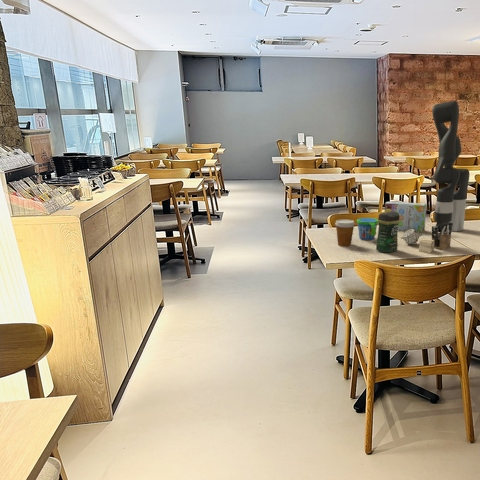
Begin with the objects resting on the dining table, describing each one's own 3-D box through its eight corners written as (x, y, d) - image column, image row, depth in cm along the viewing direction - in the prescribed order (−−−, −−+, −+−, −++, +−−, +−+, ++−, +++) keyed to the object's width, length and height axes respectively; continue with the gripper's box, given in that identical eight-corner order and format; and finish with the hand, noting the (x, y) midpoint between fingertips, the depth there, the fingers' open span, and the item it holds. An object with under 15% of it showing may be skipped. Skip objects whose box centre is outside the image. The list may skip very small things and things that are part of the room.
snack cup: (352, 235, 233) (353, 216, 231) (371, 234, 234) (372, 216, 231) (361, 243, 218) (362, 223, 216) (382, 242, 218) (383, 222, 216)
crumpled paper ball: (413, 252, 213) (423, 239, 205) (397, 246, 213) (406, 233, 206) (415, 239, 218) (425, 226, 211) (399, 233, 219) (408, 220, 211)
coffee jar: (387, 254, 199) (389, 214, 194) (373, 250, 205) (375, 212, 200) (400, 250, 204) (403, 211, 199) (386, 246, 210) (388, 209, 205)
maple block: (422, 248, 205) (423, 238, 204) (433, 250, 202) (434, 240, 201) (418, 251, 202) (419, 241, 201) (430, 253, 199) (430, 242, 197)
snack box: (424, 230, 238) (427, 203, 234) (422, 232, 234) (425, 205, 230) (385, 226, 249) (386, 201, 245) (382, 229, 245) (384, 202, 241)
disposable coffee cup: (330, 243, 219) (331, 220, 216) (346, 241, 223) (347, 218, 219) (342, 248, 211) (342, 224, 207) (358, 245, 214) (359, 221, 211)
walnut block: (438, 244, 211) (439, 232, 209) (450, 247, 206) (451, 235, 204) (431, 247, 207) (432, 234, 206) (442, 249, 203) (444, 237, 201)
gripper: (444, 207, 209) (441, 241, 213) (427, 212, 201) (424, 246, 206) (459, 209, 203) (456, 244, 207) (442, 214, 195) (439, 250, 200)
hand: (440, 245), depth 206 cm, fingers closed on walnut block, 6 cm apart
